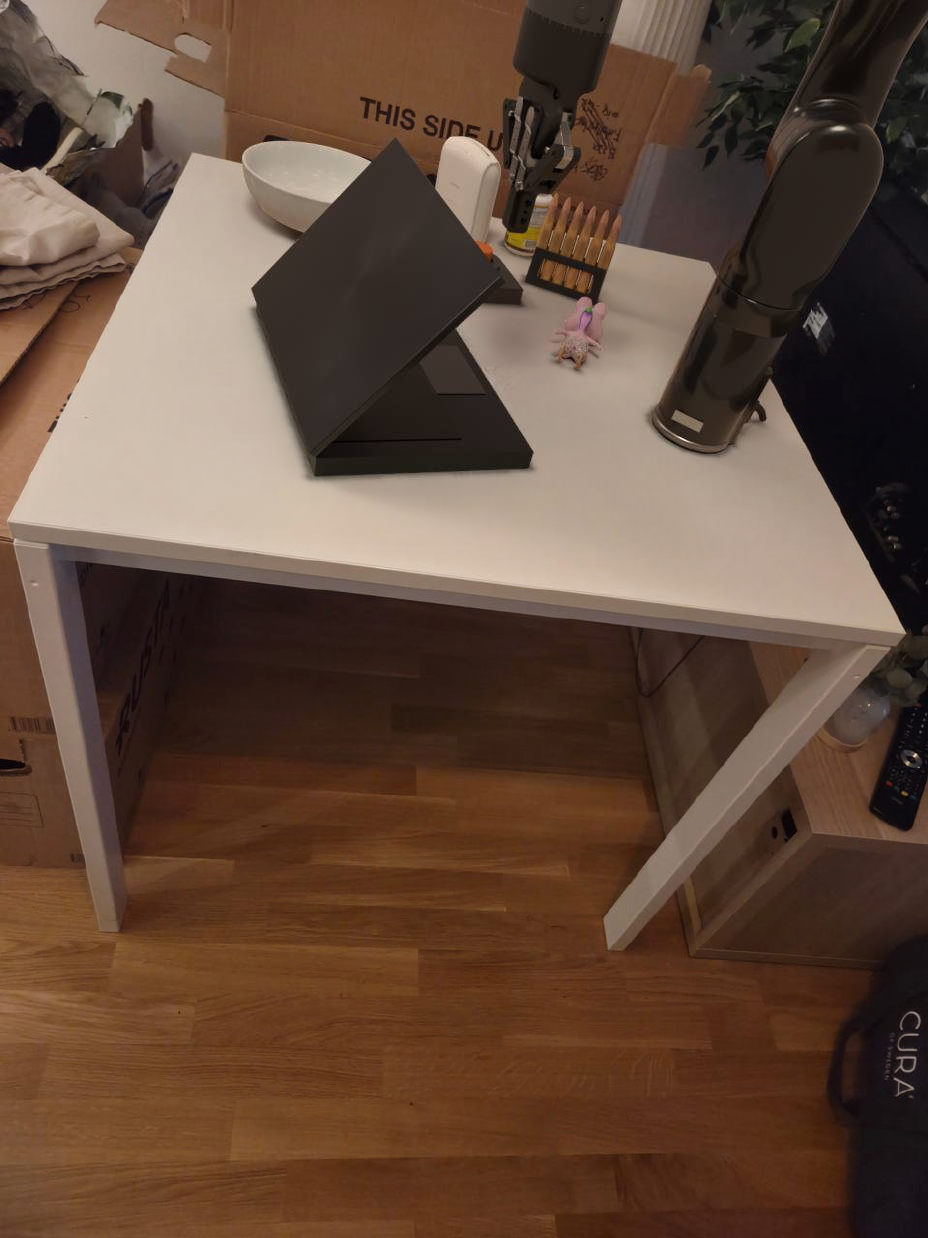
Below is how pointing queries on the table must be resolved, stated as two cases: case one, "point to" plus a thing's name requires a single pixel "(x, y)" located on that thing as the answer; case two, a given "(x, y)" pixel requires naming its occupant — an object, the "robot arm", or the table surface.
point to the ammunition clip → (576, 259)
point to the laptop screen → (369, 293)
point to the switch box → (505, 286)
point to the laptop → (427, 422)
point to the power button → (486, 249)
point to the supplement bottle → (529, 229)
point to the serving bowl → (298, 179)
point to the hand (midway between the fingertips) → (513, 229)
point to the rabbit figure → (582, 330)
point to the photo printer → (469, 183)
